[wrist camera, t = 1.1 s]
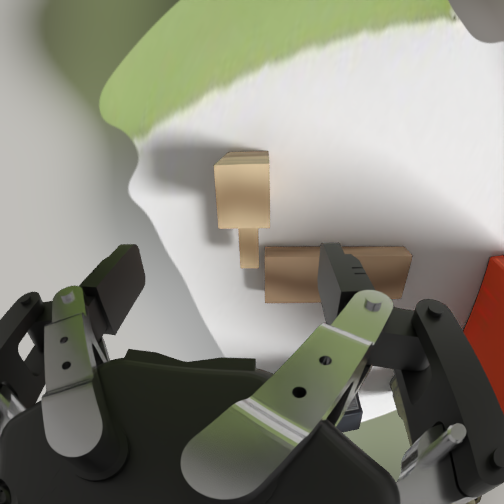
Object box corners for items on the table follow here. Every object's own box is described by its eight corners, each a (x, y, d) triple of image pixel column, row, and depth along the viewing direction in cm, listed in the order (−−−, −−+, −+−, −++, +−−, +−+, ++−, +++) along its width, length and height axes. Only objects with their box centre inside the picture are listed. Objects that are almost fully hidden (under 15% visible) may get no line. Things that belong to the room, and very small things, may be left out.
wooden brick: (227, 152, 27) (213, 165, 20) (268, 151, 26) (269, 163, 19) (233, 250, 32) (224, 291, 25) (269, 250, 31) (270, 292, 24)
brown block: (264, 246, 31) (264, 256, 29) (404, 246, 30) (412, 255, 28) (265, 291, 34) (265, 303, 32) (394, 287, 33) (400, 298, 31)
